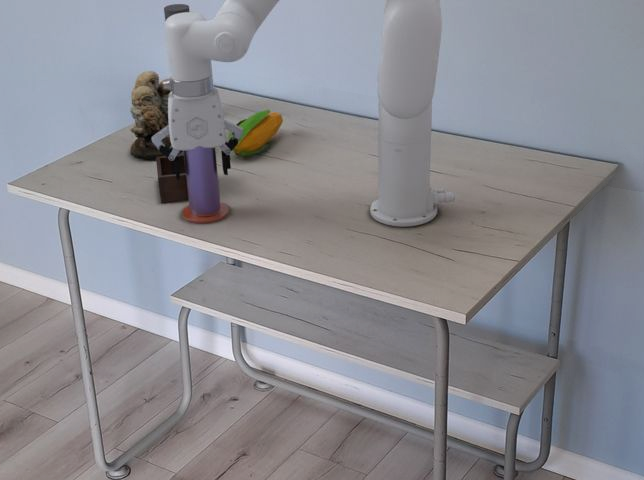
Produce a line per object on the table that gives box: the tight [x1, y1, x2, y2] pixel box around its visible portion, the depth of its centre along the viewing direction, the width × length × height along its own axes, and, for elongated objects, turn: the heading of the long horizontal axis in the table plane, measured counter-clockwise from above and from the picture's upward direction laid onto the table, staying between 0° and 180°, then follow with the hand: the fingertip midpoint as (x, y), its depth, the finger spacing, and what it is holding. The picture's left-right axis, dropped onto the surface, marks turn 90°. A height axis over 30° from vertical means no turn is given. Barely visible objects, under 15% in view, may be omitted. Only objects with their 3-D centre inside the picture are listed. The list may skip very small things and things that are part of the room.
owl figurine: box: [129, 70, 183, 161], centre depth 222 cm, size 18×12×17 cm, turn 155°
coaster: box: [181, 202, 230, 224], centre depth 198 cm, size 9×9×1 cm
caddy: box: [155, 153, 189, 204], centre depth 206 cm, size 11×11×6 cm
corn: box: [227, 109, 284, 158], centre depth 223 cm, size 7×8×20 cm
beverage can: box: [182, 146, 221, 217], centre depth 193 cm, size 6×6×15 cm
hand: (201, 174), depth 193 cm, fingers open, 8 cm apart
